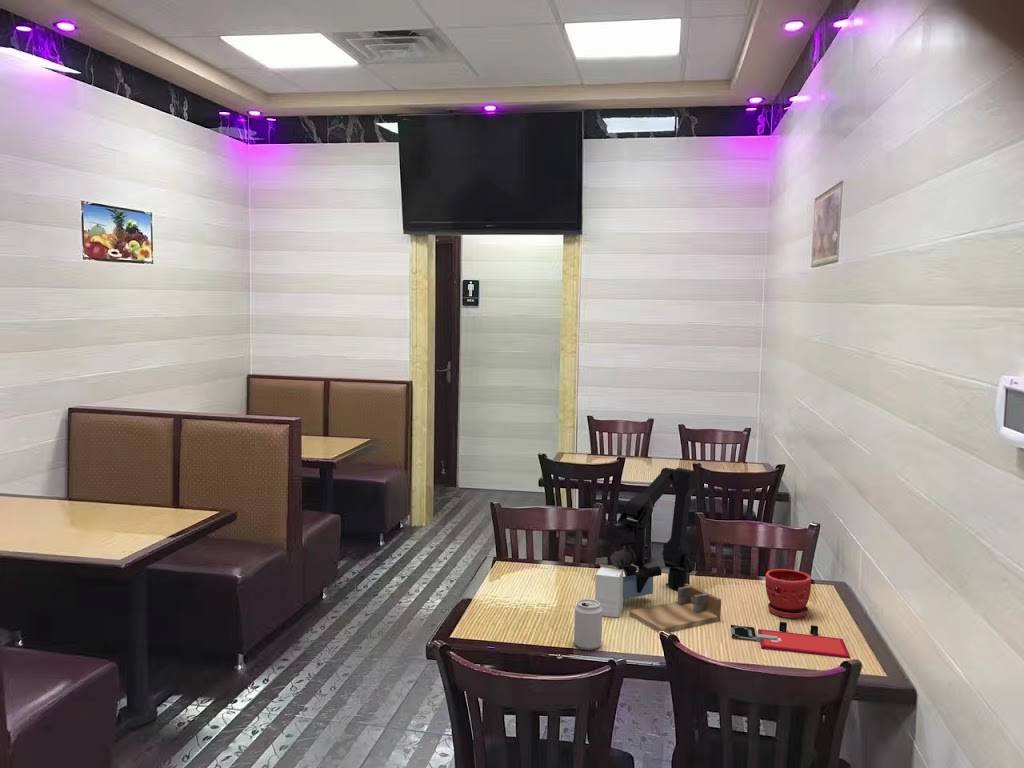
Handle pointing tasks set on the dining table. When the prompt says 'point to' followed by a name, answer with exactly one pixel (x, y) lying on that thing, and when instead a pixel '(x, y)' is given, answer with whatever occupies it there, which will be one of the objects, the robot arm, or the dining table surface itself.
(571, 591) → the dining table surface
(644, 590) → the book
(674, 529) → the robot arm
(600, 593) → the supplement box
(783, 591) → the plant pot
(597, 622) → the can
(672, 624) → the shelf
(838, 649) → the red board with handle
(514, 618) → the dining table surface
